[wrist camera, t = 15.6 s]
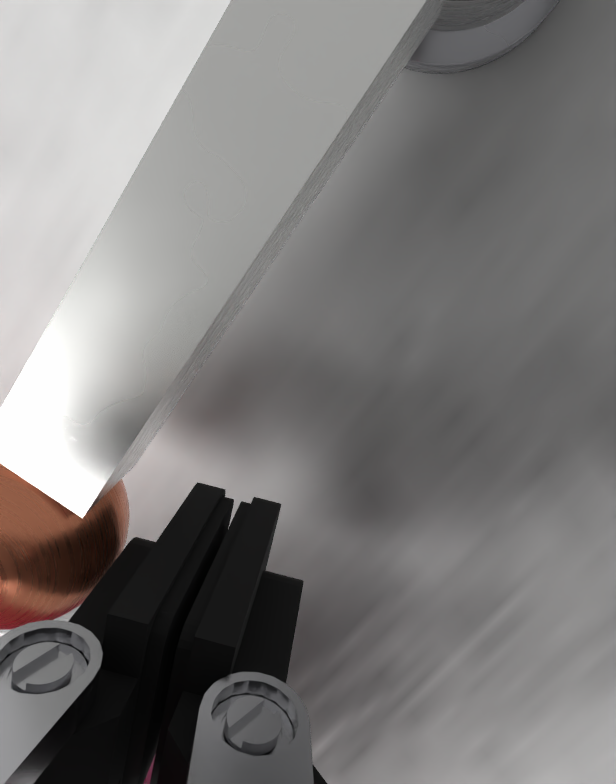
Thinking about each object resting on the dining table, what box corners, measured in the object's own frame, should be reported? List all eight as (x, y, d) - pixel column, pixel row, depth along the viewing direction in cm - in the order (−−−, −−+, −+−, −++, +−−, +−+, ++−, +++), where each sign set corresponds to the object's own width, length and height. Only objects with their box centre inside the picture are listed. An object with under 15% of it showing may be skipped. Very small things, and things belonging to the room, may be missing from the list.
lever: (442, -305, 8) (521, -849, 4) (630, -142, 8) (883, -496, 4) (-11, 472, 12) (-195, 590, 8) (125, 562, 13) (12, 720, 9)
